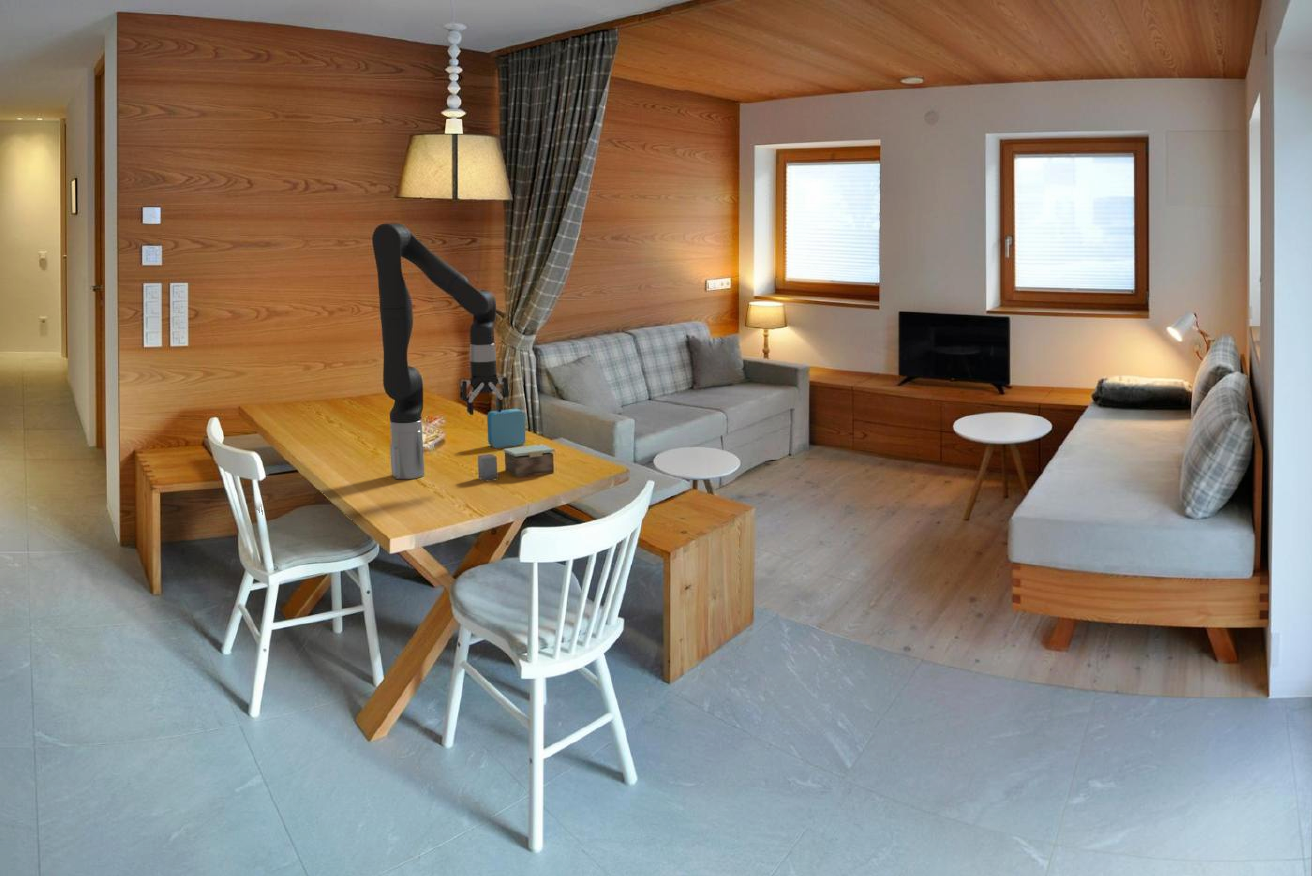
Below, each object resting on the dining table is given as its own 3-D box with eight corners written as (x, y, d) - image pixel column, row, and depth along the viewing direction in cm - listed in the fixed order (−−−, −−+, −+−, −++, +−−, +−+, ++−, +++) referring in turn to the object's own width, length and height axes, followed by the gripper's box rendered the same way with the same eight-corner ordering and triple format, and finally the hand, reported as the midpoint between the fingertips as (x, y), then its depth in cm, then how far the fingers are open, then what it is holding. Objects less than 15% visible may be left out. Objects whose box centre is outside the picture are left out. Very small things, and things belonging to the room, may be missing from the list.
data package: (521, 442, 363) (520, 408, 360) (526, 444, 359) (524, 410, 356) (488, 446, 357) (486, 411, 355) (492, 448, 353) (491, 413, 351)
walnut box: (516, 477, 316) (516, 458, 315) (505, 470, 325) (504, 451, 324) (553, 472, 322) (553, 453, 320) (541, 465, 330) (541, 447, 329)
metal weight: (483, 481, 312) (482, 458, 311) (478, 478, 316) (477, 455, 315) (497, 479, 314) (496, 457, 313) (492, 476, 318) (491, 453, 317)
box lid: (516, 459, 314) (515, 453, 313) (503, 453, 323) (503, 448, 323) (555, 454, 319) (555, 449, 319) (542, 448, 329) (542, 443, 329)
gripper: (463, 362, 301) (465, 417, 304) (510, 358, 307) (512, 413, 311) (455, 359, 307) (458, 413, 311) (501, 355, 314) (503, 408, 317)
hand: (485, 413), depth 311 cm, fingers open, 8 cm apart
